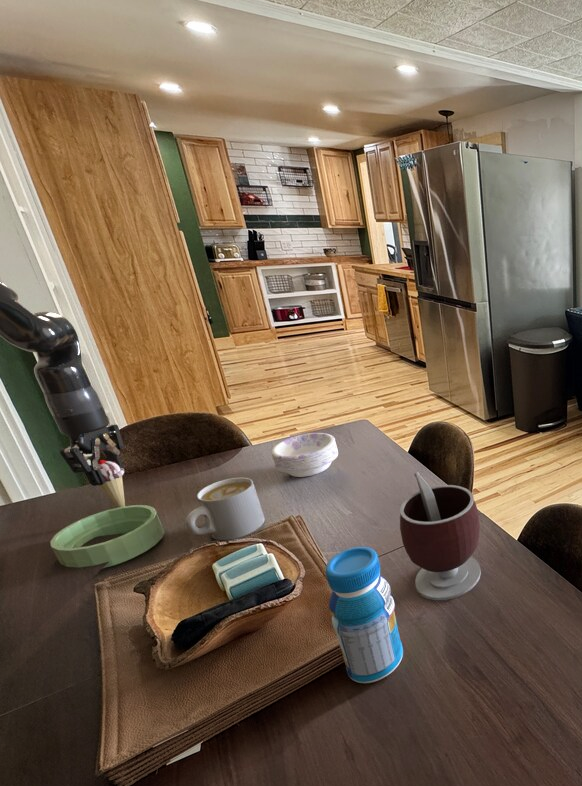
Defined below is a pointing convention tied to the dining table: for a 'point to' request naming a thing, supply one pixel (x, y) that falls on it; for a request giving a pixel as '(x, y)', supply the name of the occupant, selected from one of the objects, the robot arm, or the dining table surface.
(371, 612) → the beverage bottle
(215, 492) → the coffee mug
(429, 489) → the mate gourd
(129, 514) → the green ring
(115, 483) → the ice cream cone
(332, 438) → the paper bowls
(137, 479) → the dining table surface
